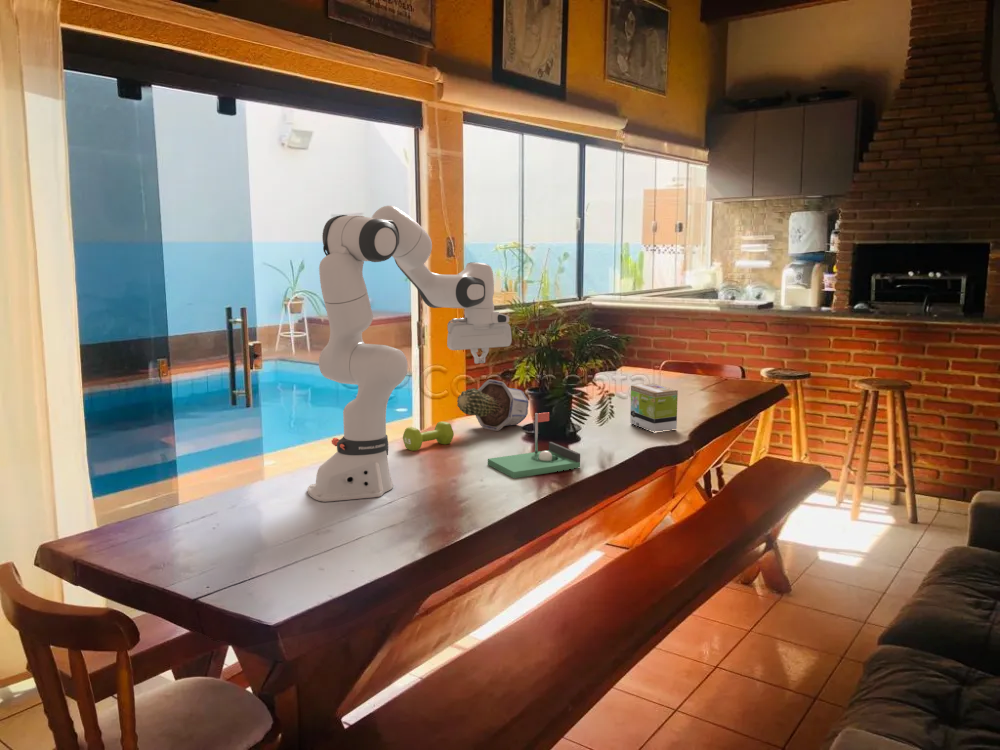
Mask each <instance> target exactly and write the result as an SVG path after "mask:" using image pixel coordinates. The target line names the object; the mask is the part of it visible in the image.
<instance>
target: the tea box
mask: <svg viewBox="0 0 1000 750" xmlns="http://www.w3.org/2000/svg"><path fill="white" fill-rule="evenodd" d="M678 395H679V391H678V390H677V389H674V388H670V387H667V386H663V385H660V384H657V383H652V382H651V383H644V384H636V385H630V415H629V416H630V419H629V421H630V422H629V423H631V424H634V425H637V426H639V427H642V428H645V429H648V430H651V431H654V432H655V431H663V430H672V429H678V427H677V426H678V422H677V421H678ZM631 424H630V425H631ZM634 425H633V426H634ZM637 426H636V427H637ZM639 427H638V428H639ZM642 428H641V429H642Z"/></svg>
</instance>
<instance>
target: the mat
mask: <svg viewBox="0 0 1000 750" xmlns="http://www.w3.org/2000/svg"><path fill="white" fill-rule="evenodd" d="M542 451H543V450H542ZM542 451H540V450H539V451H538V453H535V451H533V452H526V453H520V454H511V455H505V456H504V455H503V456H499V457H498V456H497V457H491V458H487V466H488V467H489V466H490V467H492V468H493V469H495V470H497V471H499V472H501V473H503V474H505V475H507V476H509V477H511V478H513V479H517V478H518V479H519V478H525V477H526V478H527V477H531V476H536V475H537V476H538V475H539V476H540V475H543V474H544V475H545V474H549V473H551V474H552V473H556V472H557V471H558V472H563V470H564V471H570V470H569V469H571V470H575V469H574V468H577V469H579V468H578V467H580V468H581V453H579V452H577V451H574V450H573V449H570V448H567V447H565V446H563V445H560V444H558V443H557V442H556V443H555V442H553V441H548V450H546V451H549V452H550V453H551V454H552V461H543V460H539V454H540V453H541V452H542Z"/></svg>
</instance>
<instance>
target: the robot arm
mask: <svg viewBox="0 0 1000 750" xmlns="http://www.w3.org/2000/svg"><path fill="white" fill-rule="evenodd" d="M321 236H322V243H323V244H322V245H323V246H322V247H323V253H324V255H326V256H324V257H323V258H322V260H320V261H319V262H320V263H319V267H318V269H319V270H318V271H319V283H320V289H321V295H322V298H323V302H324V303H323V304H324V305H325V306H324V307H325V311H326V314H327V319H328V325H329V339H328V342H327V344H326V345H325V346H324V347H323V348H322V350H321V352H320V354H319V356H318V357H319V358H318V369H319V371H320V373H321V375H322V376H323V377H324V378H325V379H328V380H329V381H334V382H336V383H339V384H346V385H357V386H358V387H357V394H356V396H355V398H354V399H352V400H351V401H349V402H348V403H347V404H346V405H345V406H344V409H343V411H342V414H343V415H342V416H343V418H342V421H343V436H342V437H341V438H340V439H339V438H338V437H333V438H332V439H331V441H330V443H331V444H332V445H333V446H334V447H336V453H334V454H333V455H332V456H331V457H329V458H328V459H327V460H326V461H325V462H323V463H322V464H321V465H320V466H319V467H318V469H317V471H316V479H315V483H312V484H310V485H308V487H307V494H308V496H310V498H312V499H314V500H316V501H319V502H323V503H325V502H326V503H327V502H334V501H335V502H337V501H338V502H339V501H347V500H357V499H367V498H368V499H369V498H379V497H381V496H383V495H384V494H385V493H386V492H389V491H390V490H392V489H393V488H394V486H395V485H394V483H393V480H392V476H391V472H390V467H389V460H388V459H389V458H388V455H389V439H388V435H387V427H386V426H387V425H386V424H387V419H386V418H387V406H388V402H389V399H390V397H391V394H392V393H393V391H394V390H395V388H397V386H399V385H400V384H402V383H403V381H404V380H405V378H406V377H407V373H408V369H409V364H408V360H407V359H408V358H407V357H406V354H405V353H404V352H403V351H402V350H401V349H399V348H395V347H393V346H389V345H387V344H374V343H365V341H364V340H363V332H365V331H366V330H367V329H368V328H369V327H370V326H371V325H372V322H373V319H374V315H373V311H372V307H371V306H372V305H371V301H370V298H369V294H368V290H367V285H366V283H365V278H364V276H363V268H364V263H365V262H370V263H382V262H385V261H387V260H389V259H390V258H391V257H392V258H393V259H394V261H395V263H396V266H397V267H398V269H399V270H400V271H401V272H402V274H403V275H404V276H405V277H406V278H407V279H408V280H409V281H410V283H412V285H413V286H414V287H415V288H416V290H417V291H418V293H419V295H420V297H421V298H422V300H423V302H424V304H425V305H426V306H428V307H430V308H433V309H438V308H439V309H440V308H447V309H448V308H450V309H464V317H462V318H461V317H460V318H452V319H451V320H449V321H448V323H447V332H448V333H447V339H446V340H447V342H446V343H447V344H446V345H447V346H446V347H447V348H448V349H449V350H450V351H464V350H465V351H466V350H470V353H471V355H472V356H473V360H474V361H473V362H474V364H475V365H478V364H485V363H486V357H487V356H488V353H489V351H490V348H491V349H492V348H505V347H510V346H511V344H512V341H513V340H512V339H513V338H512V328H511V325H510V324H509V322H510V316H509V315H508V314H504V313H500V312H499V311H495V305H494V294H495V281H494V272H493V268H492V266H490V264H487V263H485V262H478V261H477V262H476V261H473V262H471V261H470V262H468V263H466V264H465V268H464V269H462V270H461V271H460V272H459V273H457V274H441V273H440V274H439V273H435V272H432V271H430V270H429V268H428V267H427V266H426V265H425V264H426V262H427V261H428V260H429V257H430V255H431V254H432V249H433V243H432V238H431V237H430V235H429V233H428V232H427V231H426V230H425V229H424V227H422V225H420V224H419V223H418V222H417V221H415V219H414V218H412V217H411V216H410V215H409V214H407V213H406V212H405V211H403V210H401V209H399V208H398V207H396V206H394V205H383V206H382V207H379V208H378V209H377V210H376V211H375V212H374V213H373V214H372V216H371V217H368V216H363V215H355V214H354V215H353V214H352V215H347V214H339V215H336V216H333V217H331V218H329V219H328V220H327V221H326V223H325V224H324V227H323V229H322V235H321ZM479 349H481V351H482V353H481V355H480V356H478V354H477V353H479Z"/></svg>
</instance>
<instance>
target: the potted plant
mask: <svg viewBox="0 0 1000 750" xmlns="http://www.w3.org/2000/svg"><path fill="white" fill-rule="evenodd" d="M460 393H461V394H459V396H458V397H457V405H456V407H458V408H459V411H461V412H462V413H464V414H466V415H469V416H475V417H476V420H477V422H478V423H479V425H480V426H481V428H483V429H485V430H488V431H489V430H491V431H494V432H496V431H500V430H502V429H503V428H504V427H507V426H515V425H519V424H521V423H522V421H524V420H525V419H526V418H527V416H528V413H529V405H530V404H529V399H528V397H527V396H526V394H525V392H524V391H523V390H522V389H518V388H513V387H512V388H510V387H508V386H507V384H506V383H504V381H500V380H495V379H487V380H486V381H485V382H483V383H482V385H481V386H480V387H479V388H478V389H476V388H468V389H466V390H464V391H461V392H460Z"/></svg>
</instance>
